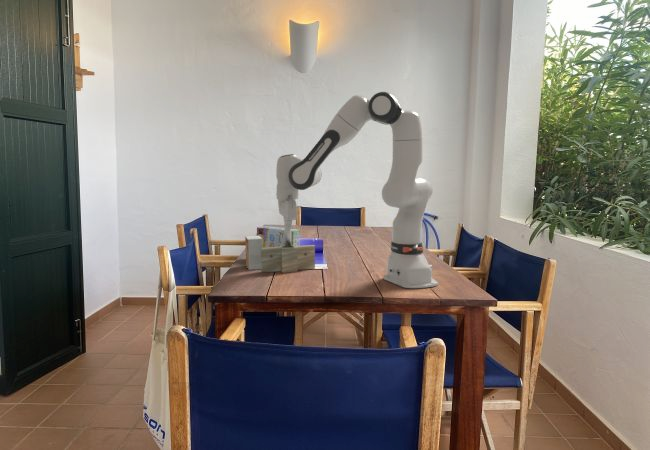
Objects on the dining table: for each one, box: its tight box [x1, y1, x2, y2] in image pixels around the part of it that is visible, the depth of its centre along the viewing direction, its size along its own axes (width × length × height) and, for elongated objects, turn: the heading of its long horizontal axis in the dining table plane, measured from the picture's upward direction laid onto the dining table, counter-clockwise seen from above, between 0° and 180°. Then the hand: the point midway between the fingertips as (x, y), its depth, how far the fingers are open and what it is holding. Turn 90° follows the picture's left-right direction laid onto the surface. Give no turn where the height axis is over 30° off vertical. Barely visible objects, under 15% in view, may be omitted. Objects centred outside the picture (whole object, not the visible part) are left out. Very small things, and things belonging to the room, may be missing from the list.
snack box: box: [256, 225, 301, 248], centre depth 217 cm, size 21×6×15 cm, turn 56°
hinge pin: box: [283, 217, 292, 246], centre depth 197 cm, size 3×3×13 cm
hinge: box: [260, 244, 316, 274], centre depth 199 cm, size 6×22×10 cm, turn 106°
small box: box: [244, 235, 263, 271], centre depth 204 cm, size 8×6×13 cm
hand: (287, 228), depth 197 cm, fingers closed on hinge pin, 3 cm apart
